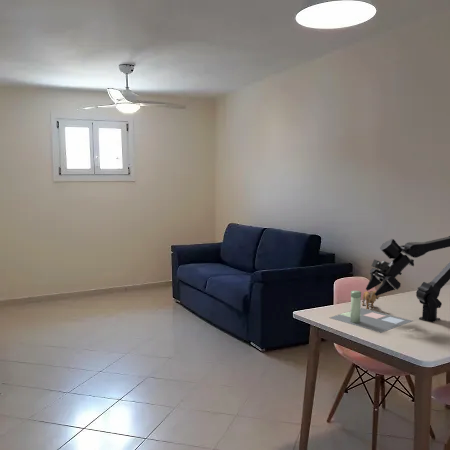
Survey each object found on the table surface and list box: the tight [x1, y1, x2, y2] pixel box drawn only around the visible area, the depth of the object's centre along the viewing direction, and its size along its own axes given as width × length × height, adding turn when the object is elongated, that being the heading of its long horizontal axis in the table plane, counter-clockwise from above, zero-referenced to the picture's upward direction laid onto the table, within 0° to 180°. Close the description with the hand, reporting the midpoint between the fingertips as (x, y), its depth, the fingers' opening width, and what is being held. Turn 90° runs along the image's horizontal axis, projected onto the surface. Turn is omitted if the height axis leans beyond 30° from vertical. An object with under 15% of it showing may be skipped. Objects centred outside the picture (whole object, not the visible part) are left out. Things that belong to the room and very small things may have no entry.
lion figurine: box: [361, 290, 380, 310], centre depth 225 cm, size 15×5×9 cm, turn 8°
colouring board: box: [328, 307, 413, 334], centre depth 204 cm, size 24×26×1 cm
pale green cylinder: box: [350, 290, 362, 323], centre depth 200 cm, size 4×4×13 cm
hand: (370, 292), depth 200 cm, fingers open, 9 cm apart
